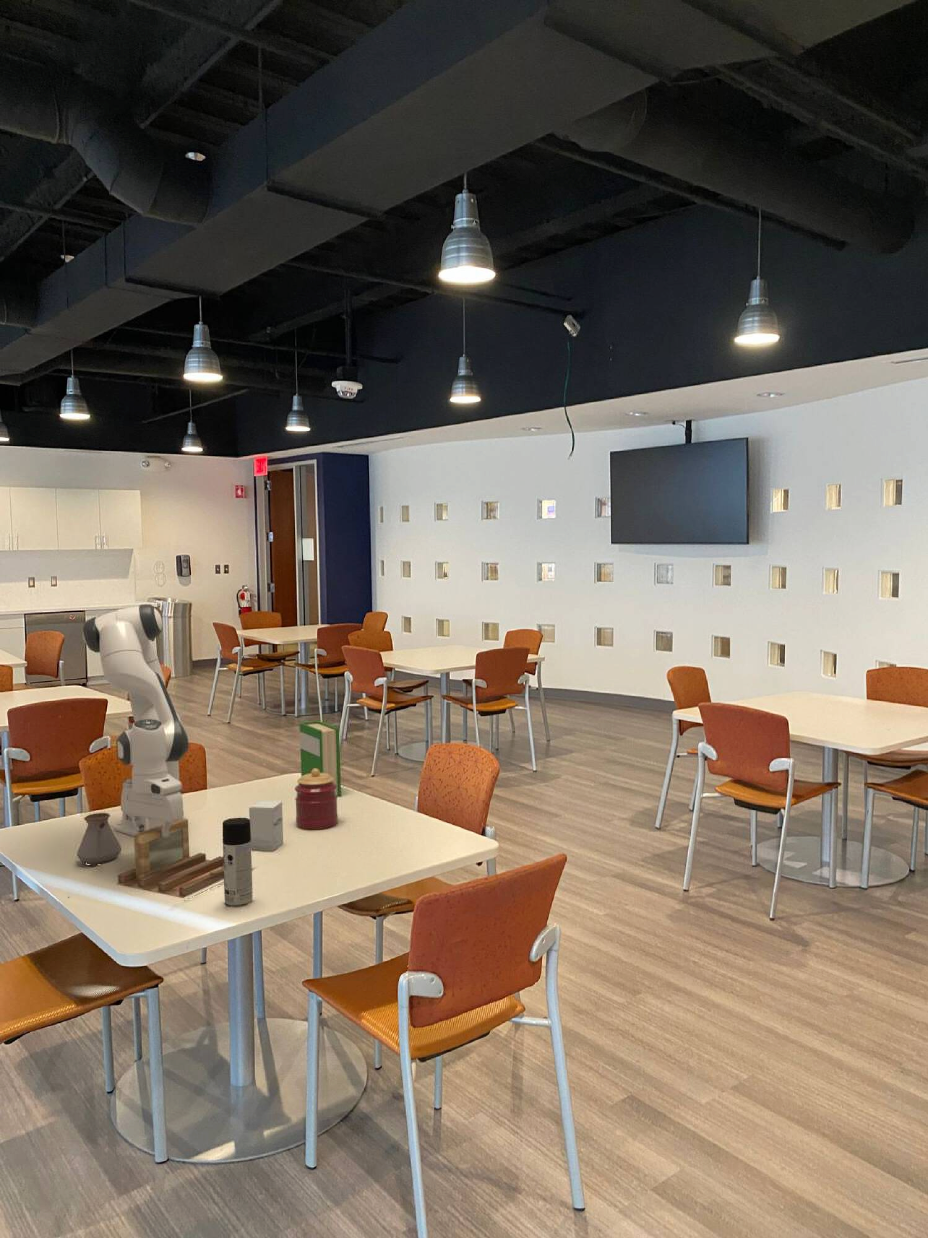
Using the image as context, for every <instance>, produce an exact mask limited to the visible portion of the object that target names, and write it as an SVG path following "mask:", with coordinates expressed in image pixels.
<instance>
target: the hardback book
mask: <svg viewBox="0 0 928 1238" xmlns="http://www.w3.org/2000/svg"><path fill="white" fill-rule="evenodd" d="M299 740H300V742H299V743H300V745H299V746H300V771H301V773H300V774H301V776H300V778H301V777H302V776H303V775H306V774H310V773H311V771H312V770H313V769H315V768H316V769H318V770H319V771H320V773H326V774H329V775H330V776H332V777H333V778H334V780H333V783H335V784H336V785H337V788H336V789H335V792H336V795H337V798H341V797H342V786H341V785H342V783H341V779H342V778H341V776H342V775H341V753H340V752H341V750H340V749H341V748H340V728H339V727H336V726H335V725H331V724H328V723H326V722H324V721H320V720H315V721H307V722H300V723H299Z"/></svg>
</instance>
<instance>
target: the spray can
mask: <svg viewBox="0 0 928 1238" xmlns="http://www.w3.org/2000/svg"><path fill="white" fill-rule="evenodd" d="M222 855H223V856H222V857H223V866H224V879H223V882H224V883H223V890H224V892H223V893H224V894H223V895H224V903H225V905H226V906H230V907H242V906H243V907H244V906H245V905H249V904H250V903H251V902H252V900H253V866H252V865H253V864H252V862H253V861H252V859H253V857H252V850H251V828H250V818H247V817H231V818H226V819H225V820H223V821H222Z"/></svg>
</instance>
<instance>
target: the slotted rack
mask: <svg viewBox="0 0 928 1238" xmlns="http://www.w3.org/2000/svg"><path fill="white" fill-rule="evenodd" d="M206 856H207V854H206V853H203V852H199V853H197V854H193V855H192V856H190V855H189V858H187V859H184V860H182V861H180V862H177V863H175V864H172V865H170V866H168V867H165V868H163V869H160V870H158V871H156V872H153V873H151V874H148V875H146V876H144V877H141V878H139V879H138V881H136V870H135V868H132V869H129V870H127V871H125V872H122V873H120V874H118V875H117V879H118V882H117V883H115V885H116V886H117V885H118V886H122V887H126V888H127V887H128V888H133V889H138V890H142V891H147V892H152V893H156V894H162V895H164V896H165V895H167V896H169V897H170V896H171V897H176V898H180V899H181V898H182V899H184V898H186V897H188V896H190V895H192V894H194V897H196V896H198V895H200V894H203V893H205V892H207V891H209V890H211V889H213V888H214V887H215V888H216V887H217V886H219V885H221V884H224V881H222V880H224V866H223V856H220V855H219V856H217V857H215V858H212V859H207V857H206ZM219 881H222V882H220V883H218V882H219ZM216 883H218V884H216ZM213 884H216V885H214V886H211V885H213ZM209 886H211V887H210V888H208V887H209ZM205 888H207V889H205ZM202 889H205V890H203V891H202V892H199V893H197V894H195V893H196V892H198V891H201V890H202ZM208 889H209V890H208ZM204 891H205V892H204ZM191 897H192V896H191ZM191 897H188V898H187V899H188V900H190V899H192V898H191ZM189 898H190V899H189ZM185 900H186V899H184V900H183V901H184V902H186V901H185Z"/></svg>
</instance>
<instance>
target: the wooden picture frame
mask: <svg viewBox="0 0 928 1238" xmlns="http://www.w3.org/2000/svg"><path fill="white" fill-rule="evenodd" d="M163 826H164V825H160V826H157V827H154V828H151V829H149V830H146V831H143V832H140V833H138V834H135V835H134V836H133V844H134V845H133V846H134V865H135V870H136V881H138V879H139V878H141V877H144V876H146V875H148V874H151V873H153V872H156V871H158V870H160V869H163V868H165V867H168V866H170V865H172V864H175V863H177V862H180V861H182V860H184V859H187V858H189V856H190V838H189V837H190V835H189V834H190V833H189V819H187V818H186V819H181V820H179V821H176V822H173V823H172V825H171V827H170V829H169V836H168V837H165V838H164V837H160V830H162V829H163Z"/></svg>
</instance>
